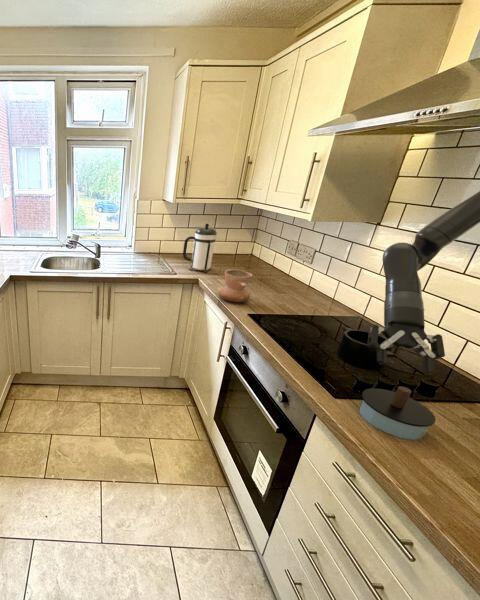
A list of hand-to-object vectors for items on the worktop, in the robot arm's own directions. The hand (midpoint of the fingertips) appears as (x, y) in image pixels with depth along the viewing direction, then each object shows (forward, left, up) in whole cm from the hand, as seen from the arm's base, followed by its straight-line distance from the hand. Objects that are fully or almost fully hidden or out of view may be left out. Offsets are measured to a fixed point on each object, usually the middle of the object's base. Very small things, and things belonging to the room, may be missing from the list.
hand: (404, 368), depth 80 cm
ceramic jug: (+7, -80, -14) cm, 82 cm away
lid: (+2, +4, -9) cm, 10 cm away
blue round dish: (+2, +4, -14) cm, 14 cm away
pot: (-13, -25, -14) cm, 32 cm away
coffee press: (+8, -131, -14) cm, 132 cm away
